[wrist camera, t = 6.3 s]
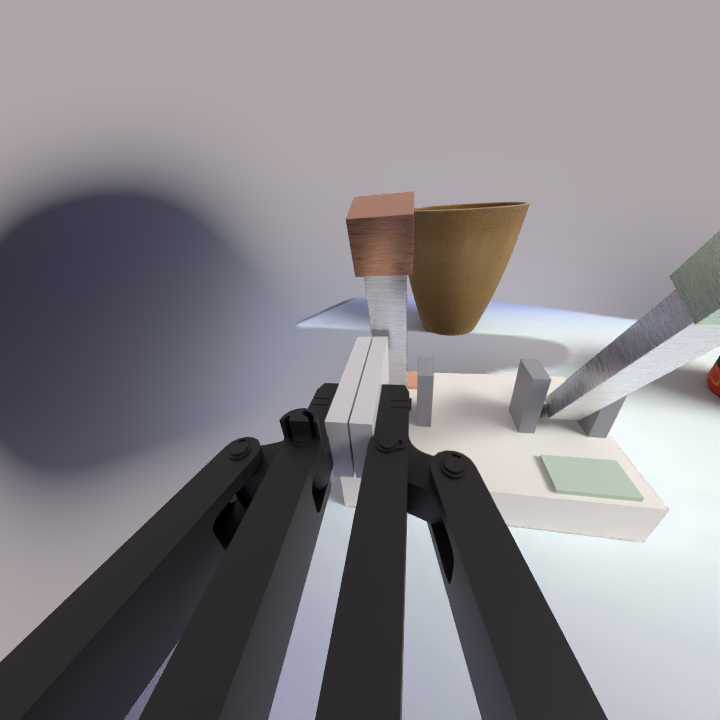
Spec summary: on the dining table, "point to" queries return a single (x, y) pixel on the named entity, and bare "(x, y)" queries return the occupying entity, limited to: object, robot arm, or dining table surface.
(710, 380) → the canned food
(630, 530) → the console
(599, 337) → the dining table surface
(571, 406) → the lever
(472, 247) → the plant pot
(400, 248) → the lever
